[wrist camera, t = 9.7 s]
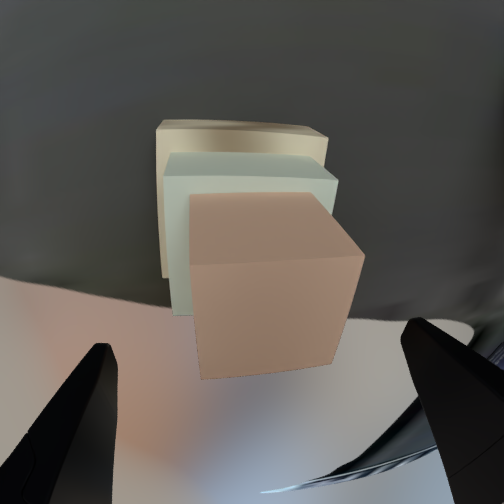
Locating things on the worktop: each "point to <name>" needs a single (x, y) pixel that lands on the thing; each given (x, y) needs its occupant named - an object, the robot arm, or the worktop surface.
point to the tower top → (227, 181)
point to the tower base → (228, 148)
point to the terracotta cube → (268, 282)
